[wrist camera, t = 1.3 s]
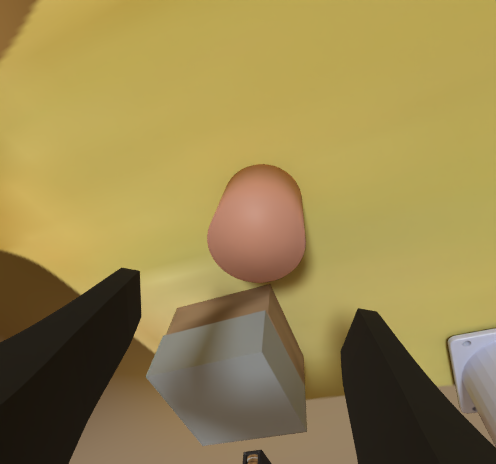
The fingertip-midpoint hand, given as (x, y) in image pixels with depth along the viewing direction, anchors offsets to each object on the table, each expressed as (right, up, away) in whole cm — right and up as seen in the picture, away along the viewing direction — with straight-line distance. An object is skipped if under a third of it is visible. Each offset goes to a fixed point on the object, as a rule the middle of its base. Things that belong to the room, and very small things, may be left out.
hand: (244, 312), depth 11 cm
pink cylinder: (+1, +4, +8) cm, 9 cm away
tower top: (-1, -6, +11) cm, 12 cm away
